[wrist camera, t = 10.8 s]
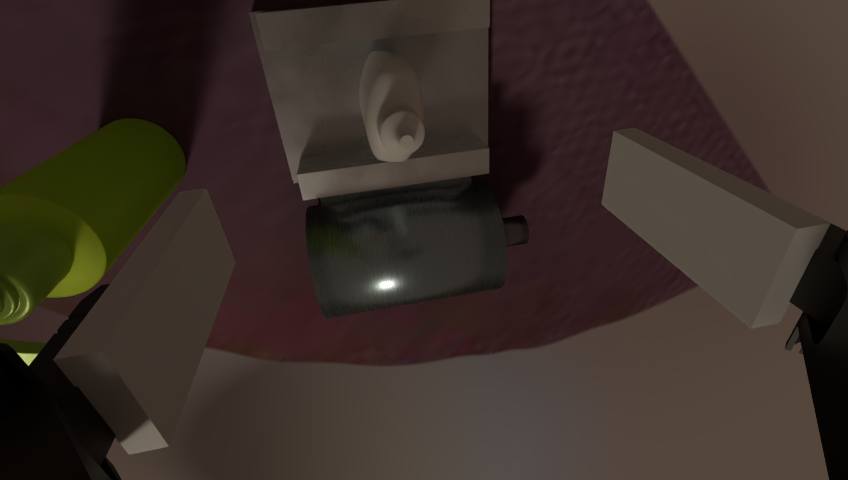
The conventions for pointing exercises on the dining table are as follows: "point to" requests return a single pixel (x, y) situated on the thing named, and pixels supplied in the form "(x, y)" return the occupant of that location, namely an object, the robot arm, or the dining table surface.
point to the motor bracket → (379, 180)
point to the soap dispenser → (80, 215)
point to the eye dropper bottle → (391, 106)
